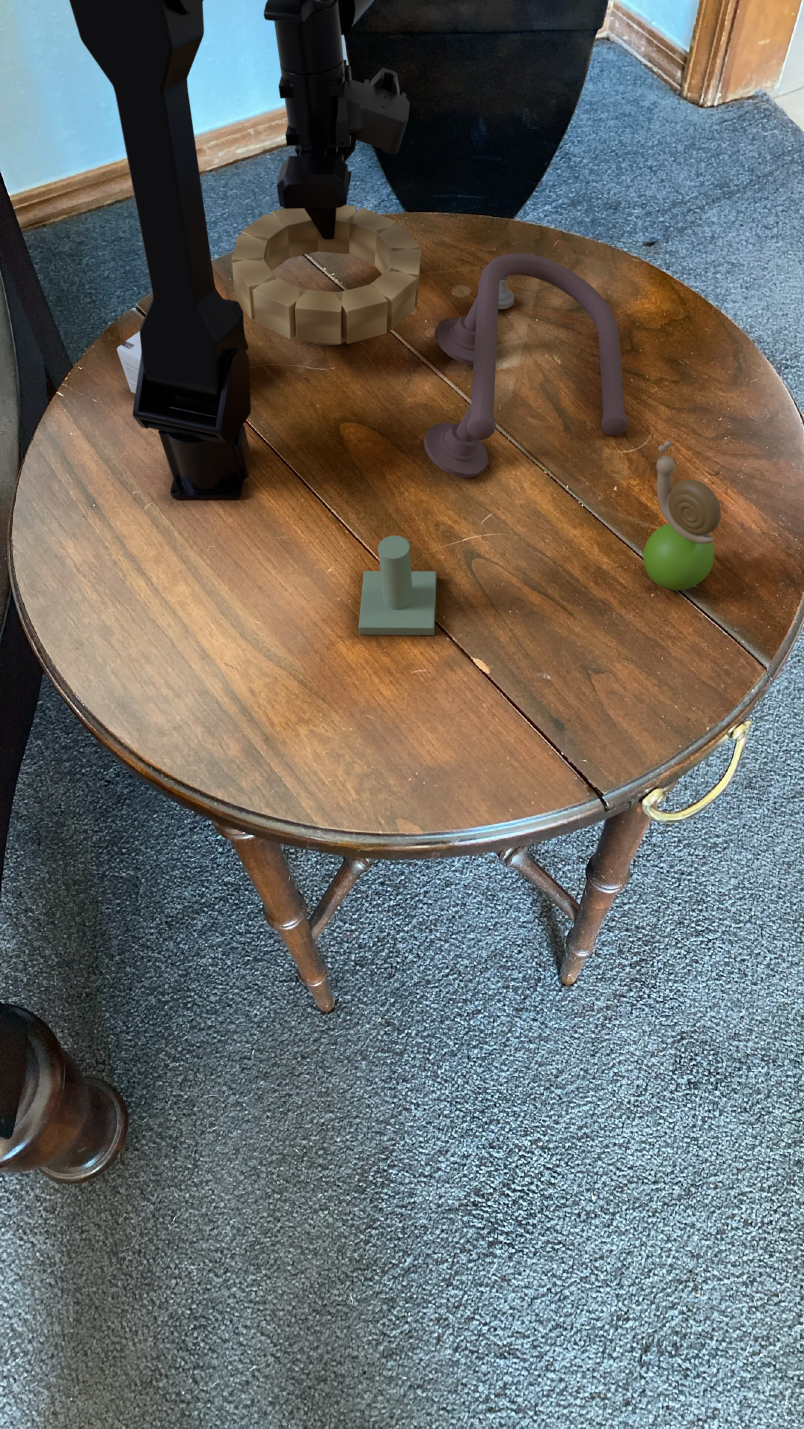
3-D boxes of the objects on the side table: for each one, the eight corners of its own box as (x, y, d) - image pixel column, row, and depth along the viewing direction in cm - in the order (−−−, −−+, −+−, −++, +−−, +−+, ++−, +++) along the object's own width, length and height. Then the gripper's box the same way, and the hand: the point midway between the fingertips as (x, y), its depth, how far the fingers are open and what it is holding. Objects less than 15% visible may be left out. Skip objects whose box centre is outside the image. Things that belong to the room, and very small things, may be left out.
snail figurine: (659, 538, 82) (686, 424, 72) (720, 579, 79) (757, 466, 69) (615, 571, 80) (637, 459, 70) (676, 615, 77) (708, 504, 67)
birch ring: (413, 350, 92) (415, 317, 89) (223, 335, 92) (219, 301, 89) (421, 243, 102) (424, 211, 99) (250, 229, 102) (247, 196, 99)
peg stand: (359, 635, 78) (351, 576, 72) (364, 578, 81) (357, 518, 75) (434, 635, 77) (432, 576, 72) (436, 579, 81) (434, 518, 75)
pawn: (504, 312, 100) (505, 276, 97) (483, 304, 101) (484, 268, 98) (518, 300, 101) (520, 264, 98) (498, 292, 102) (499, 256, 99)
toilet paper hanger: (637, 478, 84) (453, 409, 79) (595, 530, 89) (420, 468, 85) (622, 284, 99) (467, 217, 95) (587, 339, 105) (439, 278, 100)
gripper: (395, 108, 81) (404, 281, 94) (406, 12, 91) (412, 180, 104) (263, 111, 82) (290, 283, 95) (289, 16, 92) (310, 182, 105)
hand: (330, 229), depth 100 cm, fingers closed on birch ring, 3 cm apart
